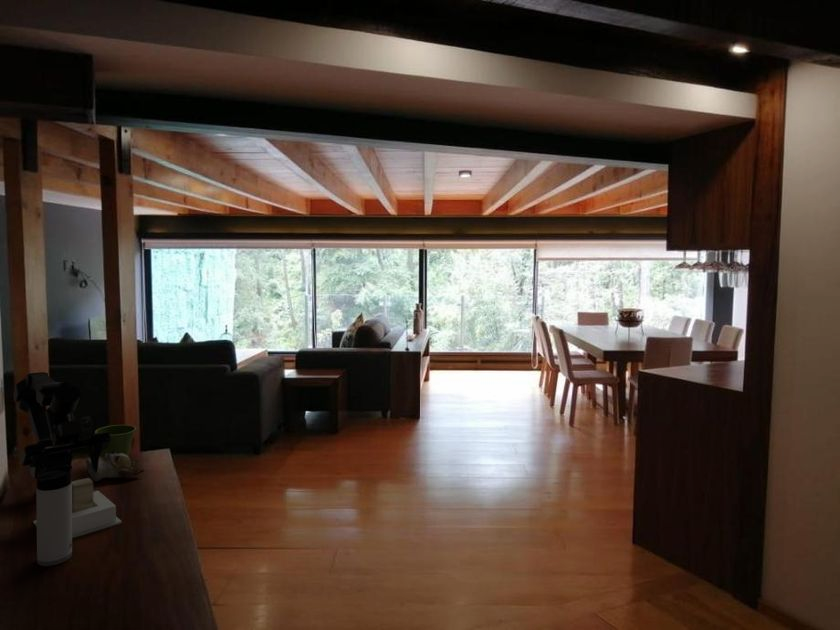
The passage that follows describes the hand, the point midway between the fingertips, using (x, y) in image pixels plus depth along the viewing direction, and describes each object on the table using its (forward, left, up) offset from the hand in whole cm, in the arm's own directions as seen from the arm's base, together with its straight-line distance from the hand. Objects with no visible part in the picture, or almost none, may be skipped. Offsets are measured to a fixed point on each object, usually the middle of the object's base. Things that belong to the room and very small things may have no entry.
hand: (75, 476), depth 128 cm
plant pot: (-40, +13, -12) cm, 44 cm away
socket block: (+2, 0, -11) cm, 12 cm away
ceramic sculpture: (-27, +12, -12) cm, 32 cm away
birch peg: (+2, +1, -11) cm, 11 cm away
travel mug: (+18, -5, -12) cm, 22 cm away
